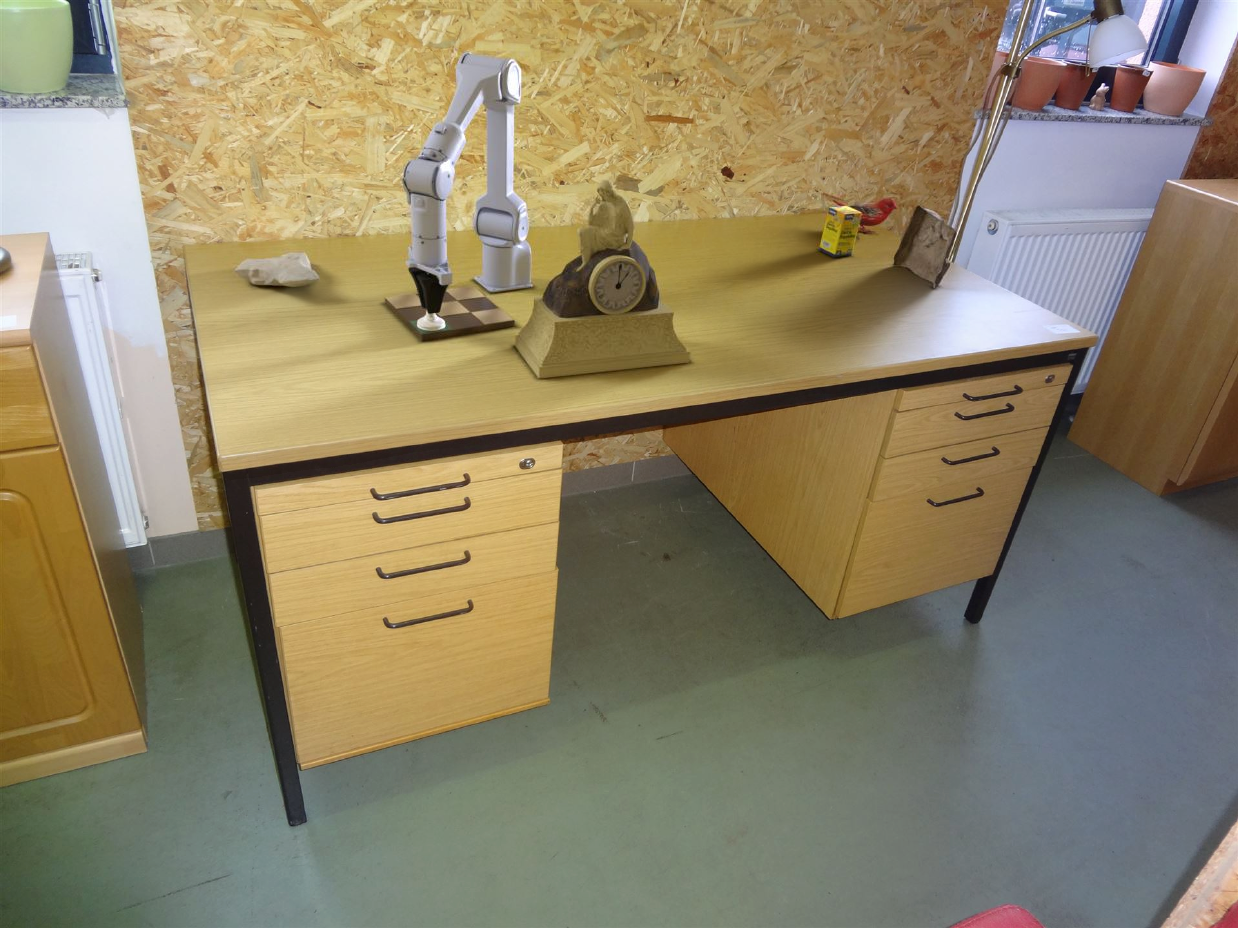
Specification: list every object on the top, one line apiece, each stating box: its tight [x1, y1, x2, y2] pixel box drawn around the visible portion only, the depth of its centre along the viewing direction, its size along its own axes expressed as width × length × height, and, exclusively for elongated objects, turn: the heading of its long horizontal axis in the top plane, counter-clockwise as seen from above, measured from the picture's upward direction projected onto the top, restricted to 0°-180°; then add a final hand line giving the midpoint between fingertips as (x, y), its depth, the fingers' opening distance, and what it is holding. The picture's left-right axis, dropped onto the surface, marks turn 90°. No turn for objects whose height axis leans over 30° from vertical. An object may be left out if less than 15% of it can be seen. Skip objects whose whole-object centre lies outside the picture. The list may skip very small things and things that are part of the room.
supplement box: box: [819, 205, 862, 258], centre depth 213 cm, size 6×6×11 cm
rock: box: [234, 251, 320, 288], centre depth 165 cm, size 21×5×15 cm
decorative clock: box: [514, 179, 691, 379], centre depth 145 cm, size 28×13×30 cm, turn 114°
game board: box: [384, 285, 515, 342], centre depth 161 cm, size 18×18×1 cm
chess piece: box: [417, 311, 445, 331], centre depth 150 cm, size 5×5×10 cm
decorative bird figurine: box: [832, 197, 898, 234], centre depth 233 cm, size 3×18×10 cm, turn 60°
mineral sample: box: [892, 205, 958, 289], centre depth 202 cm, size 17×4×15 cm, turn 20°
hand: (430, 310), depth 151 cm, fingers closed on chess piece, 2 cm apart
